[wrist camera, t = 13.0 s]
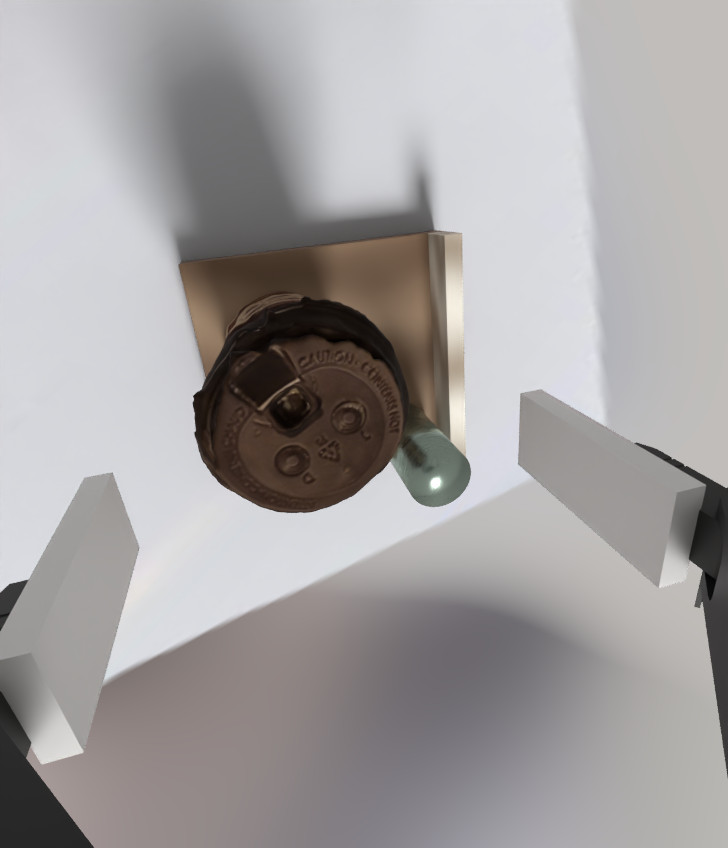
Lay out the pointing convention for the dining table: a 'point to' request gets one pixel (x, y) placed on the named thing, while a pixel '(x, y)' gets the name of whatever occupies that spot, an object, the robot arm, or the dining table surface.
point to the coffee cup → (300, 404)
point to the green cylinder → (430, 462)
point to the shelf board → (358, 305)
